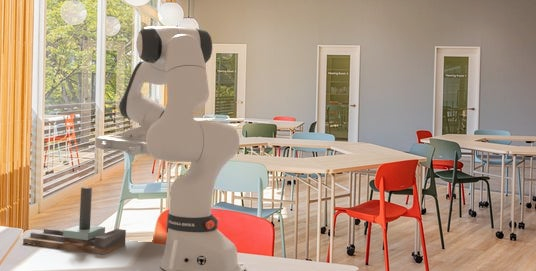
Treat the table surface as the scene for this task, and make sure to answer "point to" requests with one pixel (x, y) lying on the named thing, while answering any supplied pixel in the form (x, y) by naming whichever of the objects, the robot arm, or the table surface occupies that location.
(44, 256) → the table surface
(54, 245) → the rail board
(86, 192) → the carriage
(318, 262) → the table surface
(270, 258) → the table surface
